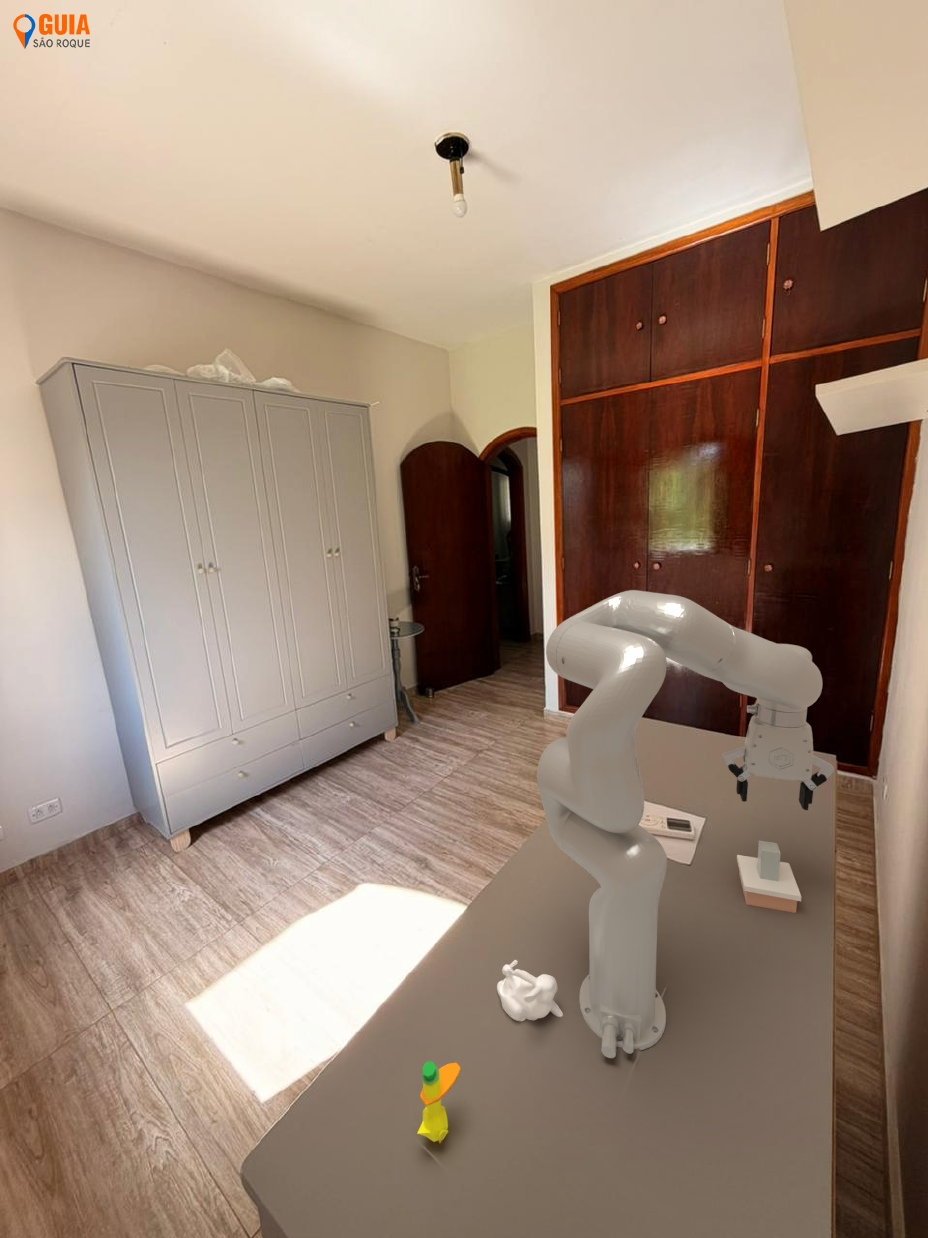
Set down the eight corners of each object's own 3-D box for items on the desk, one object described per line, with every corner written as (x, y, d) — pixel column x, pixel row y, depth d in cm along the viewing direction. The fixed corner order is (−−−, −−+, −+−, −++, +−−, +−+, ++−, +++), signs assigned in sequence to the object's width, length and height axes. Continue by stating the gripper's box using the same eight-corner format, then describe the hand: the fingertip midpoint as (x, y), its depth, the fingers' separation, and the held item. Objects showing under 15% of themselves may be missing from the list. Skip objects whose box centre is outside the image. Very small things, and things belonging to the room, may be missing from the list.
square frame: (795, 919, 91) (797, 898, 90) (745, 910, 94) (747, 889, 93) (784, 888, 98) (786, 868, 97) (738, 880, 101) (740, 861, 100)
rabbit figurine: (574, 1021, 76) (574, 968, 74) (551, 1065, 70) (549, 1009, 68) (508, 980, 83) (505, 931, 81) (481, 1017, 77) (478, 965, 75)
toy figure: (454, 1104, 66) (448, 1032, 63) (471, 1129, 63) (466, 1054, 61) (411, 1147, 62) (403, 1071, 59) (428, 1175, 59) (421, 1097, 56)
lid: (800, 901, 89) (804, 867, 88) (744, 890, 93) (746, 858, 91) (788, 867, 98) (791, 836, 96) (736, 859, 101) (738, 828, 99)
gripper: (728, 717, 88) (722, 805, 91) (847, 728, 82) (835, 821, 85) (722, 702, 94) (717, 784, 98) (831, 711, 88) (821, 798, 92)
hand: (772, 801), depth 91 cm, fingers open, 9 cm apart
